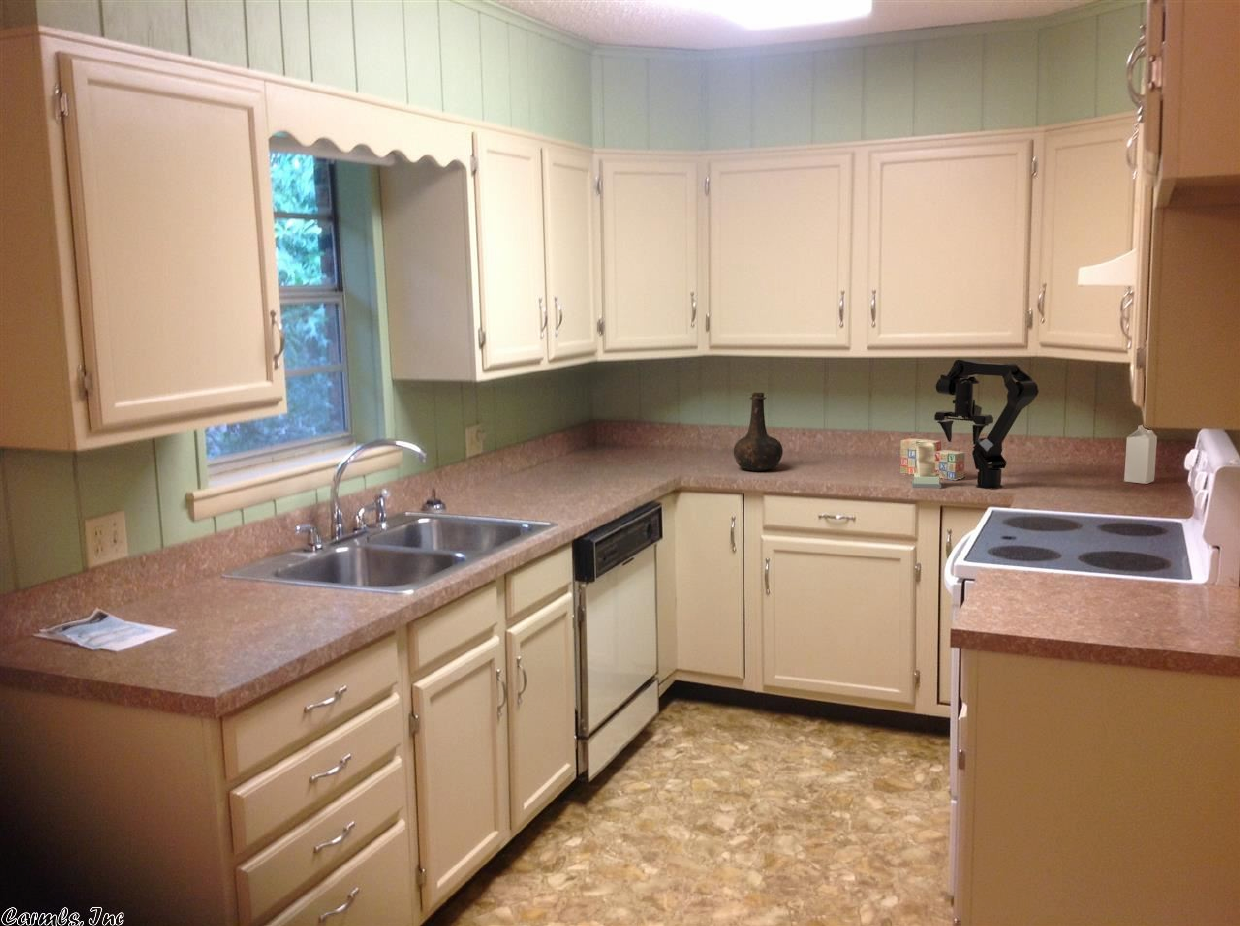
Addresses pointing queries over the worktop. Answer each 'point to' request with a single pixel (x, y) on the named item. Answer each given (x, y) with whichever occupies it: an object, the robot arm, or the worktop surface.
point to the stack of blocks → (945, 460)
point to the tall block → (925, 459)
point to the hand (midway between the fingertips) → (962, 443)
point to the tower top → (926, 479)
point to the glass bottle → (757, 441)
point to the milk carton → (1140, 456)
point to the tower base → (926, 485)
